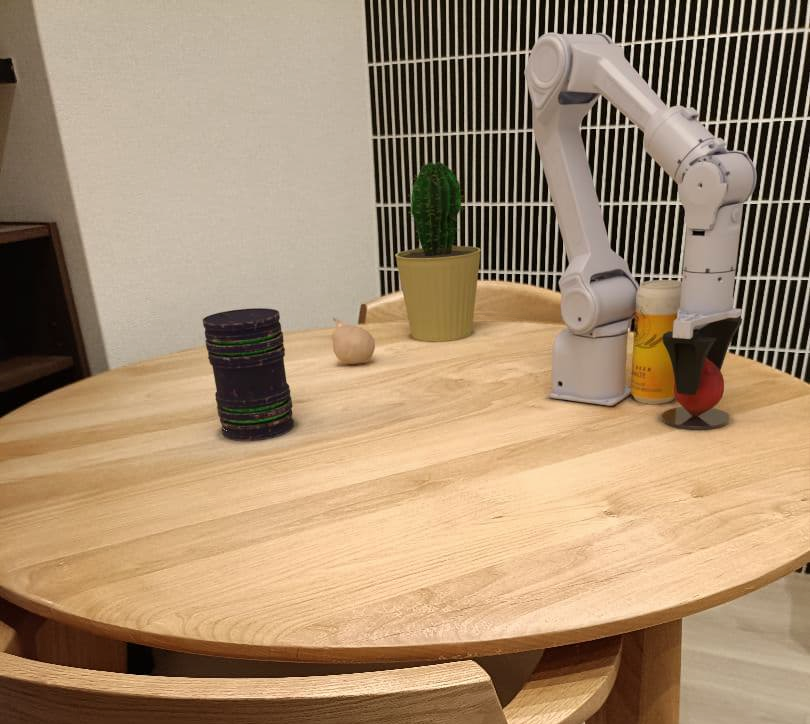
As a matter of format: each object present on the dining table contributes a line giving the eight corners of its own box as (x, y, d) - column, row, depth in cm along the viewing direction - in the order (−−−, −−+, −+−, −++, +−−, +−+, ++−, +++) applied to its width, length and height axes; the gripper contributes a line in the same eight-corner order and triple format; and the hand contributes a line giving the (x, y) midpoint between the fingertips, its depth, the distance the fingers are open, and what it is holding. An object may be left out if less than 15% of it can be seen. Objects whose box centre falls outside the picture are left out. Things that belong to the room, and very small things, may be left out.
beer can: (624, 393, 113) (630, 281, 106) (667, 390, 113) (676, 277, 106) (638, 406, 107) (646, 289, 101) (684, 402, 108) (694, 285, 101)
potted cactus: (394, 345, 148) (380, 163, 135) (407, 326, 162) (397, 159, 148) (479, 343, 145) (474, 157, 132) (485, 324, 159) (482, 153, 146)
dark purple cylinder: (308, 420, 112) (295, 308, 105) (269, 444, 104) (251, 325, 98) (248, 414, 116) (231, 307, 109) (206, 437, 108) (185, 323, 102)
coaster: (651, 424, 101) (651, 421, 101) (675, 406, 107) (675, 403, 107) (716, 433, 97) (716, 430, 96) (738, 414, 102) (738, 411, 102)
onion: (721, 409, 103) (727, 346, 99) (720, 424, 98) (728, 358, 95) (672, 408, 105) (677, 345, 101) (670, 422, 100) (675, 357, 97)
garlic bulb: (353, 357, 142) (348, 310, 138) (382, 360, 139) (378, 312, 135) (328, 366, 137) (323, 318, 134) (358, 370, 134) (353, 321, 130)
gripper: (723, 281, 86) (710, 405, 93) (764, 260, 97) (750, 373, 103) (658, 278, 90) (650, 398, 97) (704, 258, 101) (694, 367, 107)
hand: (697, 385), depth 100 cm, fingers open, 7 cm apart
